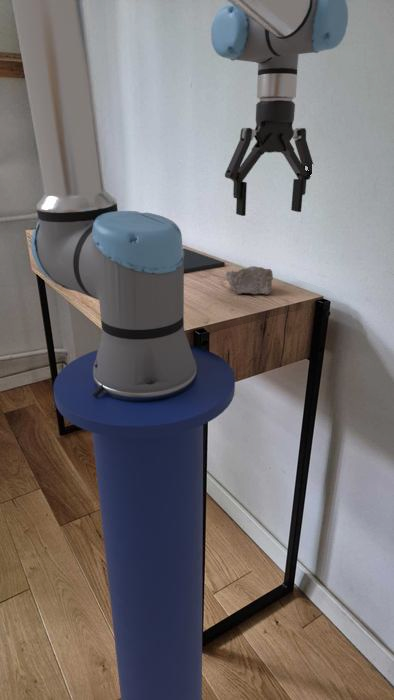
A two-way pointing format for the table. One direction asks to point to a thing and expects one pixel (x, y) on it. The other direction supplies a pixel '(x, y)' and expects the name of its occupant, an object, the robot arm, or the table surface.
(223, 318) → the table surface
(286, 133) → the robot arm
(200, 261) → the edge mat
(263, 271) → the stone
